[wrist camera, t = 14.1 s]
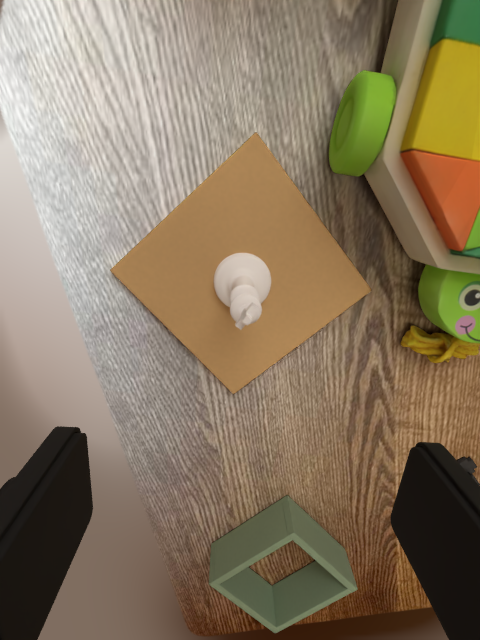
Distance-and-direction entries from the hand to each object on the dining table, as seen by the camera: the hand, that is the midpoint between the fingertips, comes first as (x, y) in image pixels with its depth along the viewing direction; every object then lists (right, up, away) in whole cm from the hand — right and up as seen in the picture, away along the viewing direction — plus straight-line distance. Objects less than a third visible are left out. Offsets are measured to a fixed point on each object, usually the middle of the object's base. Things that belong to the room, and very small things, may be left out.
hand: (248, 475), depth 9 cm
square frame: (+4, -23, +30) cm, 38 cm away
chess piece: (0, +8, +19) cm, 21 cm away
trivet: (0, +8, +19) cm, 21 cm away
